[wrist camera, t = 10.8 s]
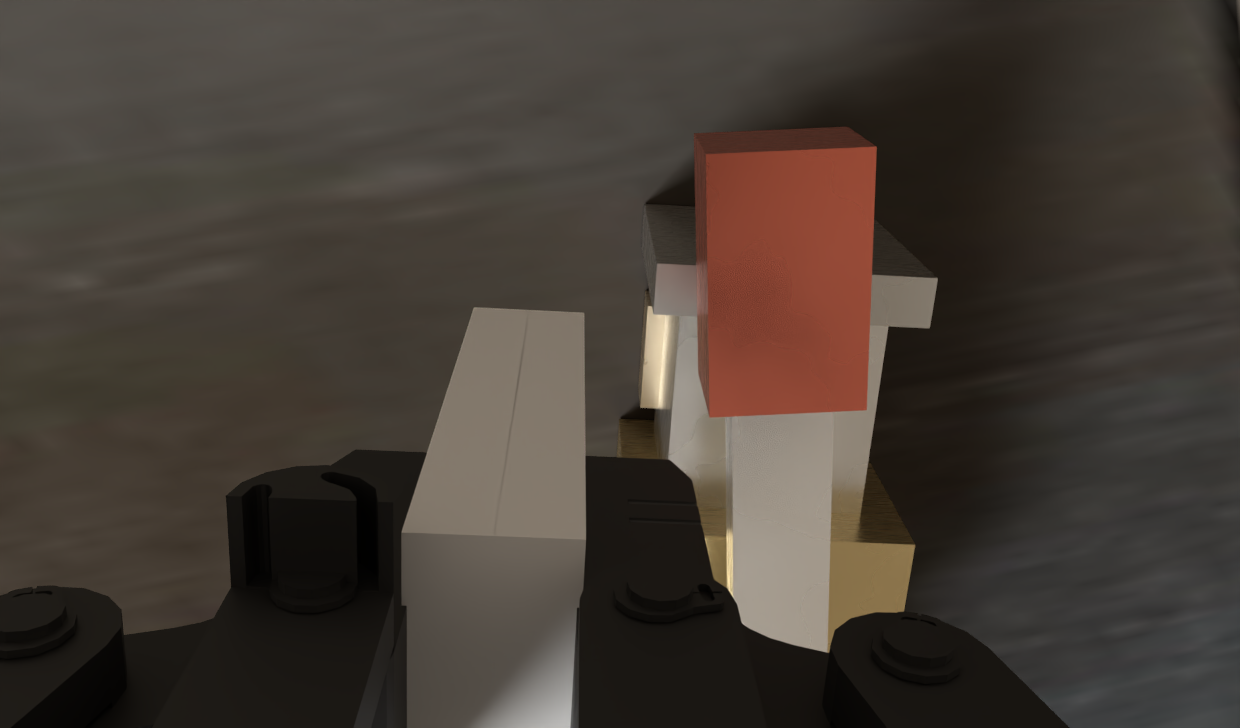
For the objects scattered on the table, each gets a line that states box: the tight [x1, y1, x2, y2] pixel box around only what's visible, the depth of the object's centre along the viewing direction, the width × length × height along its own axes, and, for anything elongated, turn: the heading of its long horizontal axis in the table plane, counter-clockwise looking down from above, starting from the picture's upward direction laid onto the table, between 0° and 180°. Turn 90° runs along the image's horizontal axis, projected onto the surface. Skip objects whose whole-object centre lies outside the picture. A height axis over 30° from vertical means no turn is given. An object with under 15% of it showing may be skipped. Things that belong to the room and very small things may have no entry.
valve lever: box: [694, 127, 877, 652], centre depth 24 cm, size 15×3×2 cm, turn 2°
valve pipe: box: [617, 204, 938, 653], centre depth 31 cm, size 20×7×9 cm, turn 177°
